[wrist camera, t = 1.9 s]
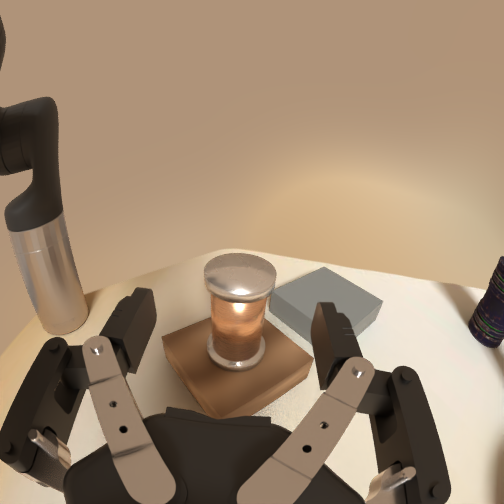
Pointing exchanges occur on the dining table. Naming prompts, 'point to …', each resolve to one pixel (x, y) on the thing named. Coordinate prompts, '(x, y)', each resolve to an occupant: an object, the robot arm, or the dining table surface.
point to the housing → (238, 309)
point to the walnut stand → (235, 383)
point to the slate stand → (323, 290)
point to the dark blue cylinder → (490, 311)
